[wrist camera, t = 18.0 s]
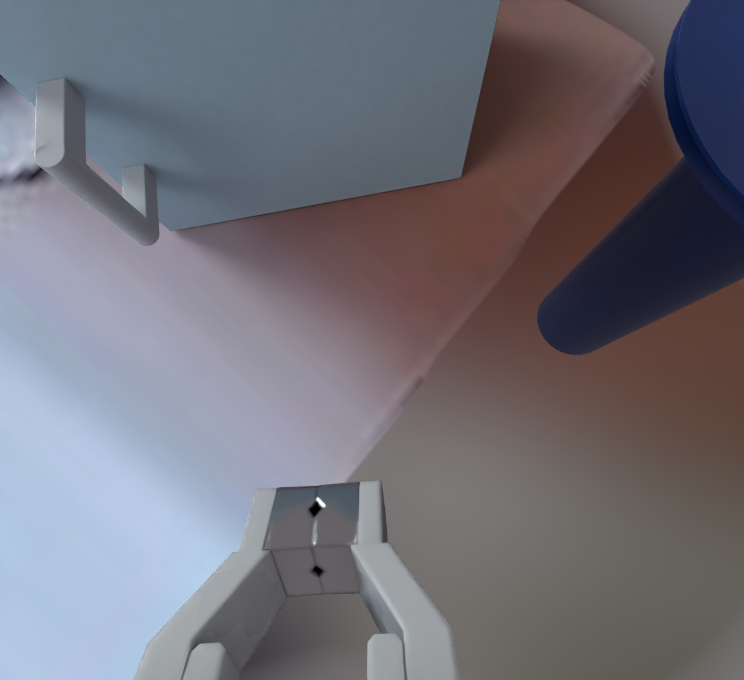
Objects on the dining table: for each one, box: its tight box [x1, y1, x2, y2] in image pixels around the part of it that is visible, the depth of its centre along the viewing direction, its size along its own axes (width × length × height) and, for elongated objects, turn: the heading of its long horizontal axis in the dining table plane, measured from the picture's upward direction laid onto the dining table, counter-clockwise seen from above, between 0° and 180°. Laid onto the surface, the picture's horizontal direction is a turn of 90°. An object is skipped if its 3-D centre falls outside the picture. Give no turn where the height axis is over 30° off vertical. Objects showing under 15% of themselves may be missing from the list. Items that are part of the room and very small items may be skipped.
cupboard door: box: [0, 0, 501, 246], centre depth 27 cm, size 6×26×24 cm, turn 99°
